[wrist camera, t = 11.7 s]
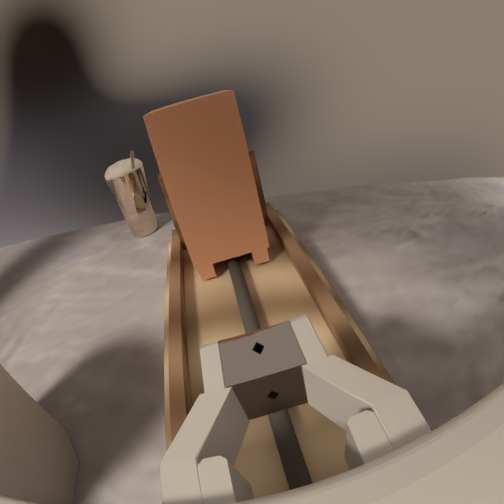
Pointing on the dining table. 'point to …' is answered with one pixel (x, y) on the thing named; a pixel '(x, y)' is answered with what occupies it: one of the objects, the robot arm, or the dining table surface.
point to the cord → (281, 419)
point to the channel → (268, 313)
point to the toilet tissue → (33, 449)
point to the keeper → (209, 179)
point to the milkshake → (132, 195)
